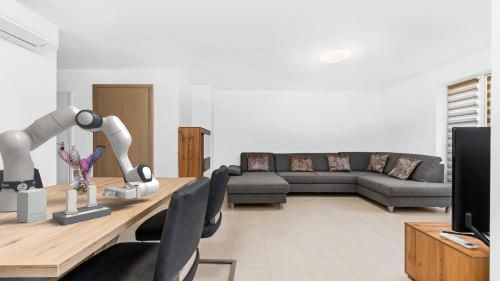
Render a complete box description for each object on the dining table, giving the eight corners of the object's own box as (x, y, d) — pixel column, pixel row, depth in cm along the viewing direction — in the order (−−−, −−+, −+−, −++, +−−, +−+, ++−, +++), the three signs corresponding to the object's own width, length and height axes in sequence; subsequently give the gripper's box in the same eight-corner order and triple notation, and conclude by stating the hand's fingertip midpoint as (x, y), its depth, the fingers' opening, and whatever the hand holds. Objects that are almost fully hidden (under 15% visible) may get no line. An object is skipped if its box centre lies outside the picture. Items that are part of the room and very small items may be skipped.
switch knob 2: (85, 206, 112) (86, 186, 112) (95, 204, 116) (95, 185, 116) (88, 207, 111) (88, 186, 111) (97, 205, 114) (97, 185, 114)
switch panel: (52, 219, 103) (52, 211, 103) (97, 210, 118) (97, 203, 118) (64, 225, 96) (64, 217, 96) (110, 214, 111) (111, 207, 111)
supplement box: (47, 218, 105) (47, 189, 106) (26, 223, 98) (27, 192, 99) (36, 216, 108) (36, 188, 108) (15, 221, 101) (16, 191, 101)
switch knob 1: (64, 213, 101) (64, 191, 101) (75, 211, 105) (75, 189, 105) (66, 214, 100) (67, 191, 100) (77, 212, 103) (78, 190, 103)
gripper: (120, 182, 135) (93, 185, 124) (141, 186, 124) (114, 190, 112) (120, 193, 135) (93, 198, 124) (141, 198, 124) (114, 204, 112)
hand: (103, 194), depth 118 cm, fingers closed
